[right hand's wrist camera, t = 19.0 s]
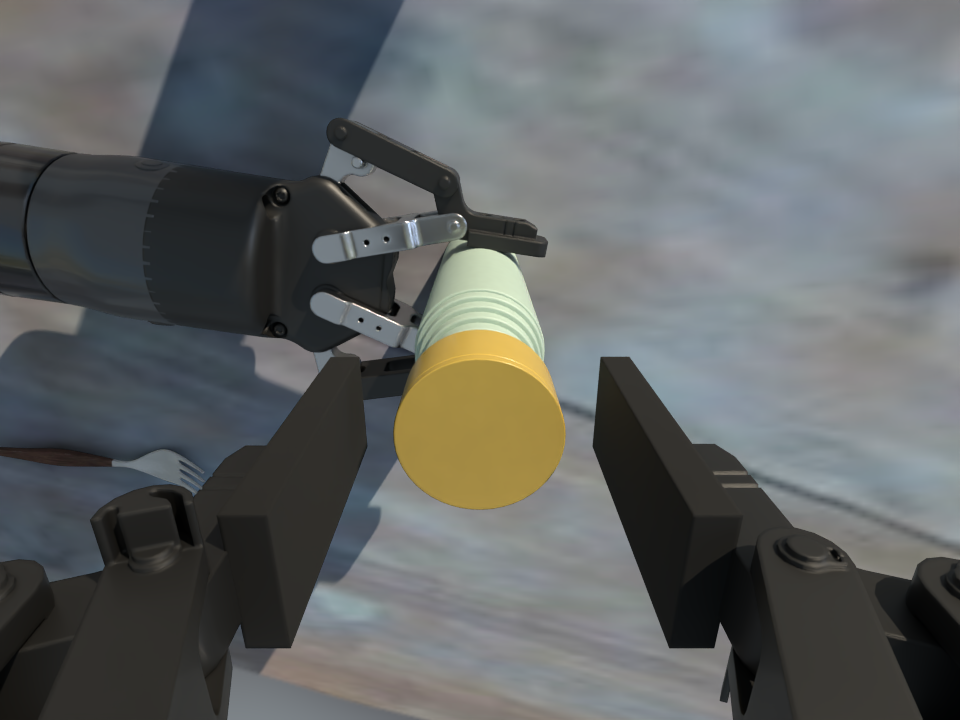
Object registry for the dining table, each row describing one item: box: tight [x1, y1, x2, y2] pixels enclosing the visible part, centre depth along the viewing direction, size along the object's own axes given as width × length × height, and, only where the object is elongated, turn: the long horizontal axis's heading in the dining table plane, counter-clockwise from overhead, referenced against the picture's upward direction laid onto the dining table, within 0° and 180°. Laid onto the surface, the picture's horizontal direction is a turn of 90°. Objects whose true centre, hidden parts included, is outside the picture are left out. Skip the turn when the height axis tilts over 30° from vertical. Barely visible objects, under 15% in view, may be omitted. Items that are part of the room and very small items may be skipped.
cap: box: [393, 330, 566, 510], centre depth 14 cm, size 4×4×2 cm
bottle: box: [415, 240, 545, 362], centre depth 23 cm, size 4×4×20 cm
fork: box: [0, 447, 205, 494], centre depth 36 cm, size 3×16×2 cm, turn 82°
